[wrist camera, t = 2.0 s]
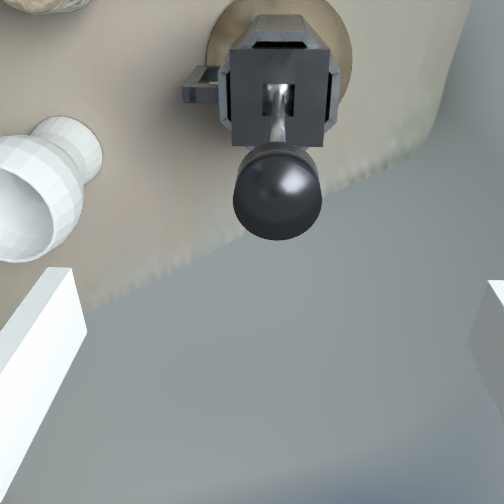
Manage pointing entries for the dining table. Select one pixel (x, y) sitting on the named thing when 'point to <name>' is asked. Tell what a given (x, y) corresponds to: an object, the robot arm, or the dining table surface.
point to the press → (275, 68)
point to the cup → (44, 186)
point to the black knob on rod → (277, 178)
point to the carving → (46, 6)
